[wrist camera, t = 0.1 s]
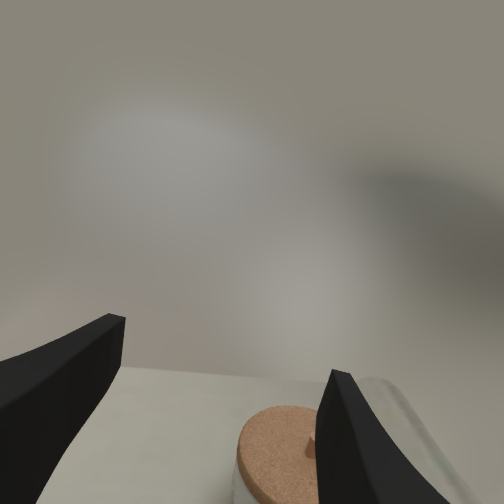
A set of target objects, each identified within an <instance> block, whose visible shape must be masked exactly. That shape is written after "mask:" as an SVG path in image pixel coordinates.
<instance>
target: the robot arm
mask: <svg viewBox="0 0 504 504" xmlns="http://www.w3.org/2000/svg"><path fill="white" fill-rule="evenodd" d="M125 320H126V318H125V317H122V316H118V315H114V314H110V313H108V314H106V315H104V316H102V317H100V318H98V319H96V320H94V321H93V322H91V323H89V324H87V325H85V326H83V327H81V328H79V329H77V330H75V331H73V332H71V333H69V334H67V335H65V336H63V337H61V338H59V339H56V340H54V341H52V342H49V343H47V344H45V345H43V346H41V347H38V348H36V349H34V350H31V351H29V352H26V353H23V354H21V355H18V356H15V357H12V358H9V359H6V360H3V361H0V504H36V502H37V500H38V498H39V496H40V494H41V493H42V491H43V489H44V487H45V485H46V484H47V482H48V480H49V478H50V476H51V475H52V473H53V471H54V469H55V468H56V466H57V464H58V462H59V461H60V459H61V457H62V456H63V454H64V453H65V451H66V449H67V448H68V446H69V445H70V443H71V442H72V441H73V439H74V438H75V436H76V435H77V434H78V432H79V431H80V429H81V428H82V426H83V425H84V424H85V422H86V421H87V419H88V418H89V417H90V415H91V414H92V412H93V411H94V410H95V408H96V407H97V405H98V404H99V402H100V401H101V400H102V398H103V397H104V395H105V394H106V392H107V391H108V389H109V387H110V385H111V383H112V382H113V380H114V378H115V376H116V374H117V372H118V370H119V368H120V366H121V356H122V347H123V338H124V329H125ZM315 458H316V473H317V487H318V500H319V504H450V503H449V502H448V501H447V500H446V499H445V498H444V497H443V496H442V495H440V494H439V493H438V492H437V491H436V490H435V488H434V487H433V486H432V485H431V484H430V483H429V482H428V481H427V480H426V479H425V478H424V477H423V476H422V475H421V474H420V473H419V472H418V471H417V470H416V469H415V467H414V466H413V465H412V464H411V463H410V462H409V460H408V459H407V458H406V457H405V456H404V454H403V453H402V452H401V451H400V450H399V448H398V447H397V446H396V444H395V443H394V442H393V440H392V439H391V438H390V436H389V435H388V434H387V432H386V431H385V429H384V428H383V426H382V425H381V424H380V422H379V421H378V419H377V418H376V416H375V414H374V413H373V411H372V410H371V408H370V406H369V405H368V403H367V401H366V400H365V398H364V396H363V395H362V393H361V391H360V390H359V388H358V386H357V384H356V383H355V381H354V379H353V378H352V376H351V374H350V373H346V372H342V371H338V370H334V369H332V371H331V374H330V377H329V380H328V383H327V386H326V388H325V391H324V394H323V397H322V400H321V403H320V406H319V409H318V412H317V415H316V426H315Z"/></svg>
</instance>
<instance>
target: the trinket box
mask: <svg viewBox="0 0 504 504" xmlns="http://www.w3.org/2000/svg"><path fill="white" fill-rule="evenodd" d="M317 412H318V411H316V410H313V409H309V408H305V407H298V406H277V407H272V408H268V409H266V410H263V411H261V412H259V413H257V414H256V415H254V416H253V417H252V418H251V419H249V420H248V421H247V423H246V424H245V426H244V427H243V429H242V431H241V434H240V437H239V441H238V446H237V455H236V460H235V465H234V471H233V479H232V498H233V504H319V500H318V487H317V473H316V458H315V426H316V415H317Z"/></svg>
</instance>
